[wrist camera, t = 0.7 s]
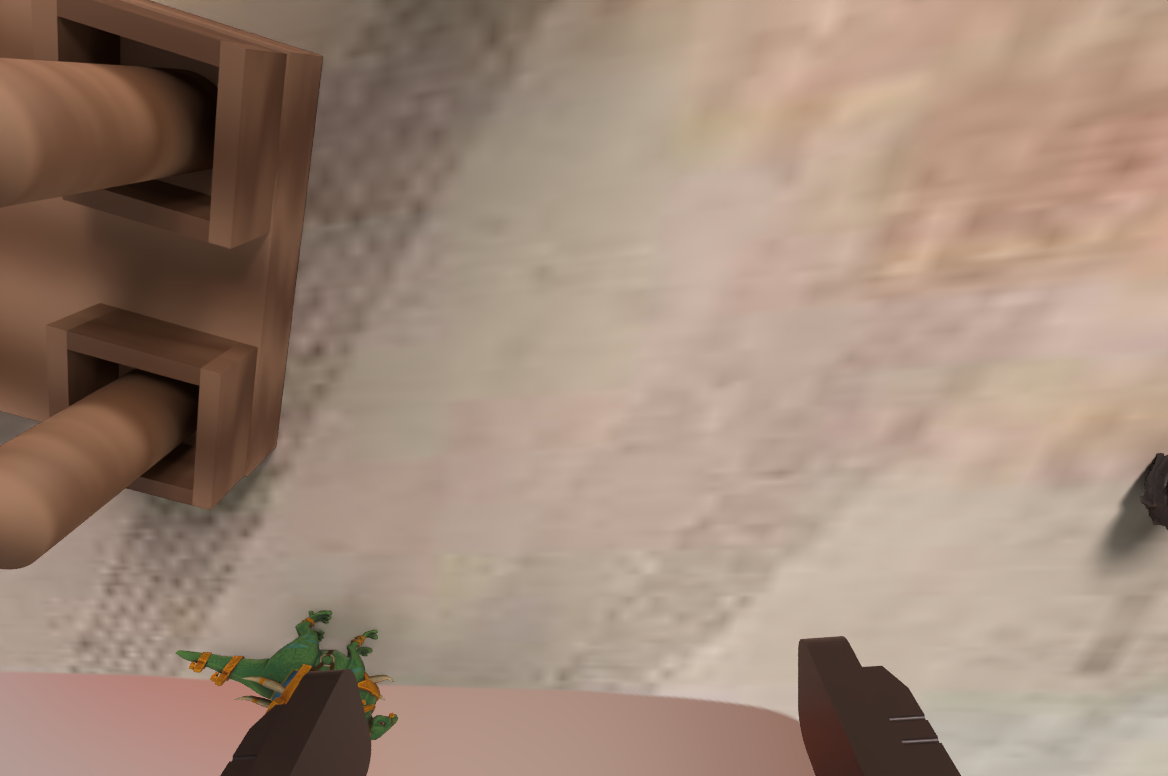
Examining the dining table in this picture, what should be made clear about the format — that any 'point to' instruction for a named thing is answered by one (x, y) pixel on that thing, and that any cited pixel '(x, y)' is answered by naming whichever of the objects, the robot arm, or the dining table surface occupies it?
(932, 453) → the dining table surface
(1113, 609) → the dining table surface
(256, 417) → the stool seat
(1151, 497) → the artificial flower
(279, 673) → the figurine
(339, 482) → the dining table surface
